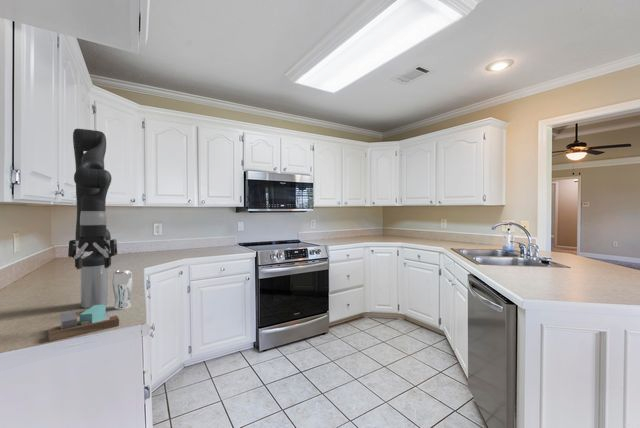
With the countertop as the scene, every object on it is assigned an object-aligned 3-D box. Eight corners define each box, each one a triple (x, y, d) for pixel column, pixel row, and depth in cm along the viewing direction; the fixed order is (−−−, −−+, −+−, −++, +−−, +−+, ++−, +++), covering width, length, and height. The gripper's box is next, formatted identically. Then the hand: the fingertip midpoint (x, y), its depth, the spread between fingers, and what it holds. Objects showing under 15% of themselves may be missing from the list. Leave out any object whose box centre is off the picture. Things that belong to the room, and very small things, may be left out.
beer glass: (129, 303, 125) (129, 269, 125) (134, 307, 120) (135, 271, 120) (110, 307, 119) (110, 271, 119) (115, 311, 115) (115, 274, 115)
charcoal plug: (60, 326, 100) (60, 312, 100) (73, 323, 102) (73, 310, 102) (62, 337, 92) (62, 321, 92) (76, 333, 94) (77, 318, 94)
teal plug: (96, 316, 109) (96, 303, 109) (107, 316, 110) (107, 303, 110) (79, 328, 98) (79, 314, 98) (92, 327, 99) (92, 313, 99)
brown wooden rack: (48, 336, 91) (48, 329, 91) (116, 321, 104) (116, 315, 104) (48, 341, 88) (48, 333, 88) (118, 325, 101) (118, 318, 101)
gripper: (63, 224, 98) (63, 271, 98) (111, 224, 101) (111, 269, 102) (76, 223, 105) (76, 267, 105) (120, 223, 109) (120, 265, 109)
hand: (93, 268), depth 103 cm, fingers open, 8 cm apart
